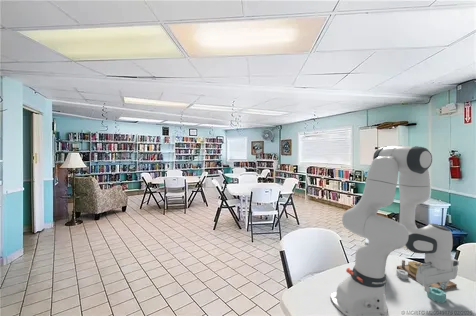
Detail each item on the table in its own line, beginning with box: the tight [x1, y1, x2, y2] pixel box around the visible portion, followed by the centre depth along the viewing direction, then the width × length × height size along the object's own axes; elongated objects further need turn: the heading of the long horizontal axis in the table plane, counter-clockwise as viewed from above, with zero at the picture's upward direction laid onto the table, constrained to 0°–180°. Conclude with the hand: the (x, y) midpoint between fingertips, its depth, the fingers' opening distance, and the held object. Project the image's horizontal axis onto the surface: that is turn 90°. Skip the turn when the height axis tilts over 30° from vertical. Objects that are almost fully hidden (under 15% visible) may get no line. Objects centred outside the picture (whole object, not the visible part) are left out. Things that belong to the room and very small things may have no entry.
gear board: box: [396, 259, 458, 291], centre depth 114 cm, size 14×19×6 cm
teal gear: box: [426, 287, 447, 304], centre depth 99 cm, size 6×6×3 cm
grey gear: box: [395, 269, 409, 280], centre depth 114 cm, size 4×4×2 cm
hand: (435, 289), depth 100 cm, fingers open, 8 cm apart
